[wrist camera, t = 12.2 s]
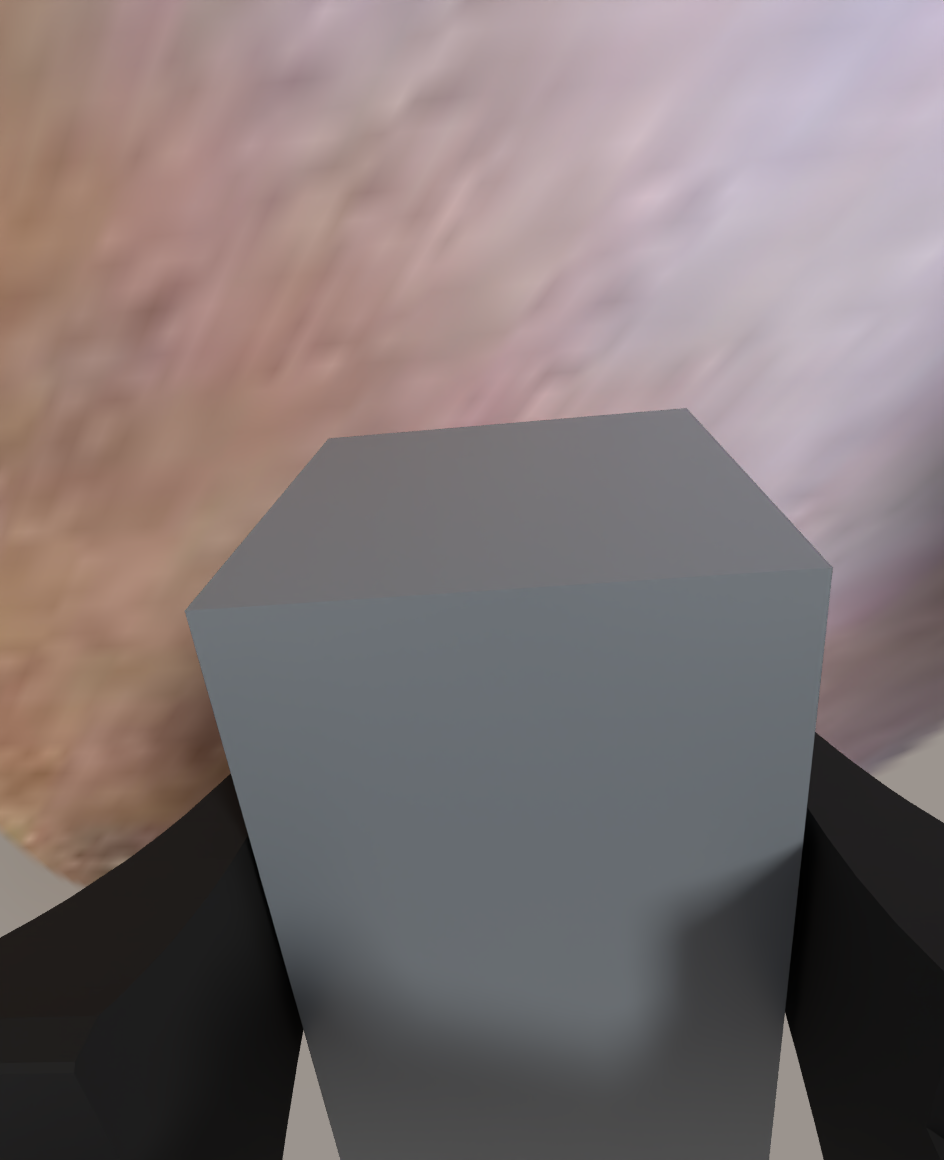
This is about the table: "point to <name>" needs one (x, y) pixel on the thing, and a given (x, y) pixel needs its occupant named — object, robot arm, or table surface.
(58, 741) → the table surface
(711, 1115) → the gray block
